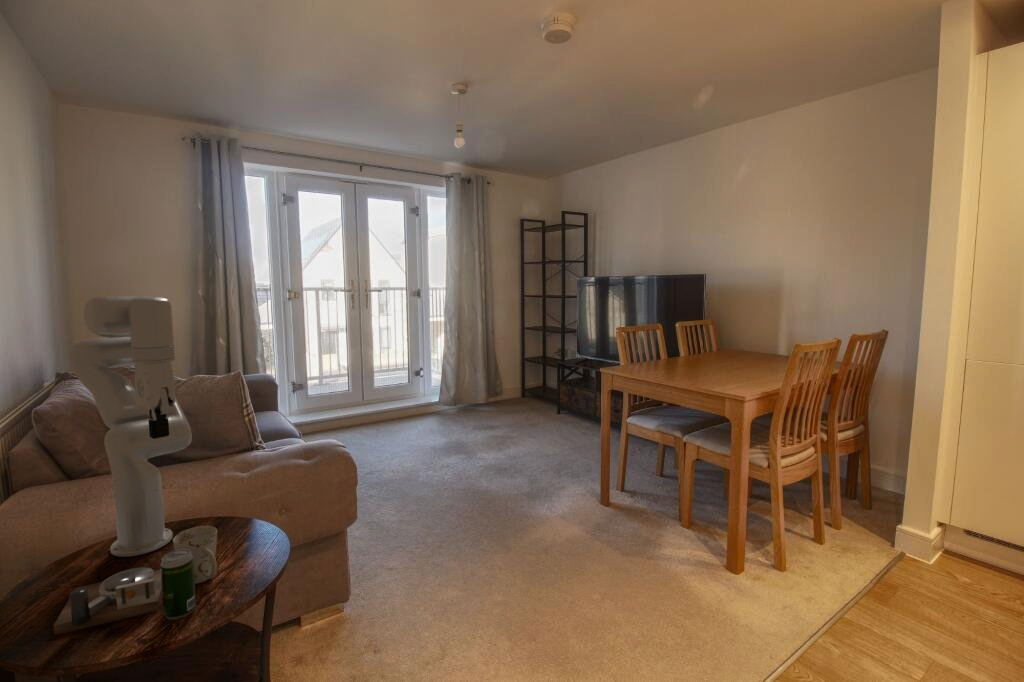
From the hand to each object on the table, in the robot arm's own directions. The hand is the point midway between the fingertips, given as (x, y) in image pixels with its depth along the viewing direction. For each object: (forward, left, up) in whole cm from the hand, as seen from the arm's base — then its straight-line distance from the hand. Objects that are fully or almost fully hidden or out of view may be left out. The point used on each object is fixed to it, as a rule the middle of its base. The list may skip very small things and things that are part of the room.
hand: (159, 436), depth 108 cm
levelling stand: (+8, -8, -32) cm, 34 cm away
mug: (+6, +7, -32) cm, 34 cm away
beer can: (+17, +4, -32) cm, 37 cm away
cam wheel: (+11, -8, -30) cm, 33 cm away
